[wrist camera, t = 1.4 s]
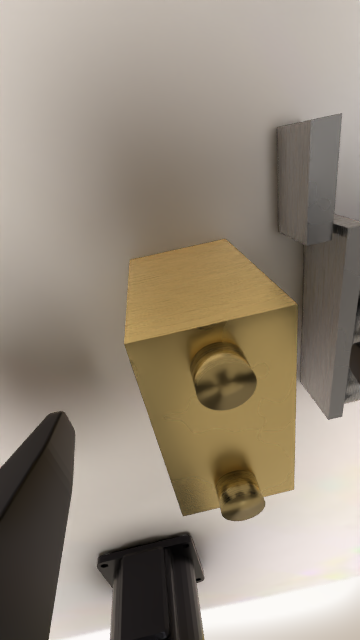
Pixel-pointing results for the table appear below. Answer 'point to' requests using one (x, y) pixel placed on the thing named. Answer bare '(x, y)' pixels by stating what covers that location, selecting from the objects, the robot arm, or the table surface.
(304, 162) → the chain end
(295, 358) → the link
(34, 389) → the table surface
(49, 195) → the table surface
